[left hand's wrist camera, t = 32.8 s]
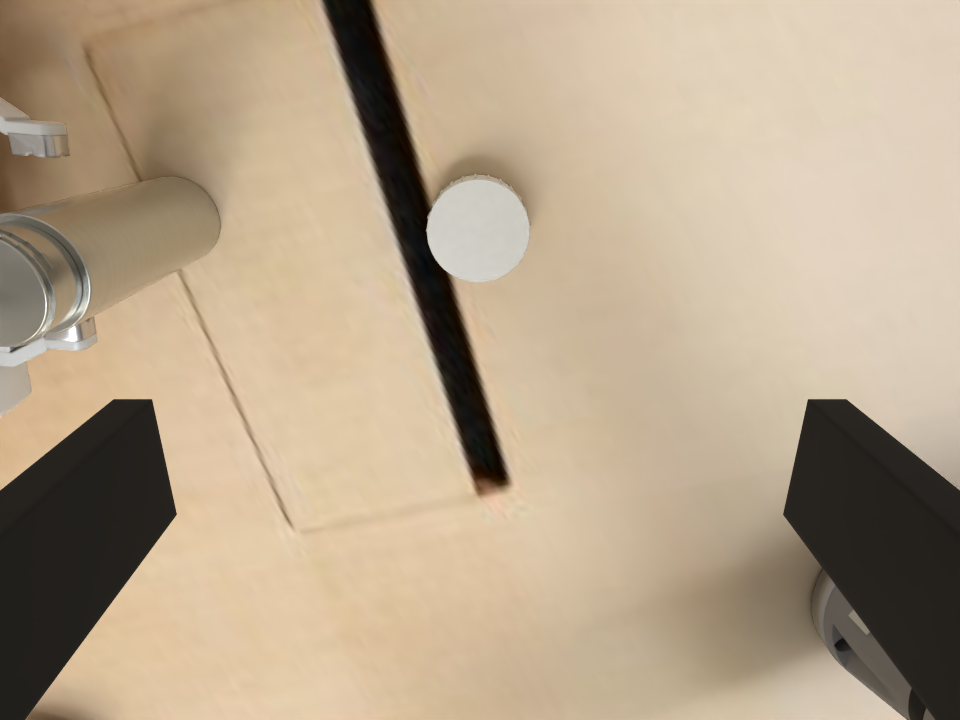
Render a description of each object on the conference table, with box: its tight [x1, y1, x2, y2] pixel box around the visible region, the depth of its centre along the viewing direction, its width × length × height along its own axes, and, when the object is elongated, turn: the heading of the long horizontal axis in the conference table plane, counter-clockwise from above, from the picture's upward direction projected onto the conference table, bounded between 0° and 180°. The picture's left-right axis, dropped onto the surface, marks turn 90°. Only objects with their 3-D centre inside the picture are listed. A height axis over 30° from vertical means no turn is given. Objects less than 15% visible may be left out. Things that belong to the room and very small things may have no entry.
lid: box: [426, 174, 530, 282], centre depth 36 cm, size 6×6×2 cm
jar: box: [0, 176, 220, 347], centre depth 29 cm, size 5×5×15 cm
